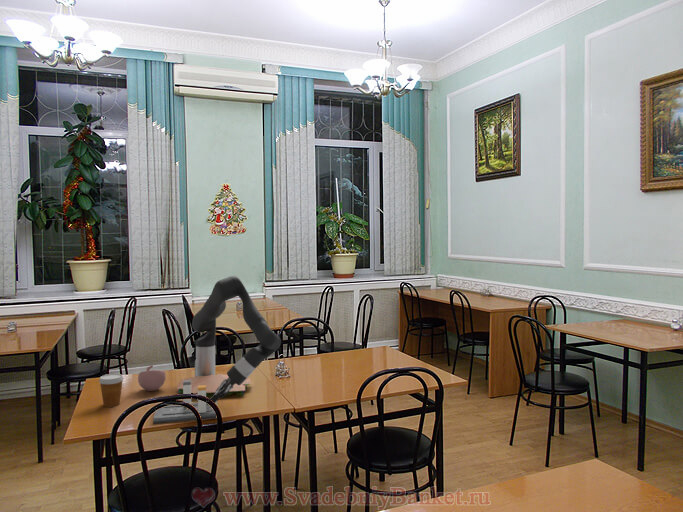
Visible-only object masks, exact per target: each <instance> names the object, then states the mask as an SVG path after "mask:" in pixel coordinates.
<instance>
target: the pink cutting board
mask: <svg viewBox="0 0 683 512" xmlns="http://www.w3.org/2000/svg"><path fill="white" fill-rule="evenodd" d="M227 378H229V377H228V375H227V374H223V373H217V374H216V373H215V374H213V375H208V376H198V377H195V376H192V377H187V378H182V379H180V380H179V382H178V385H177V387H176V390H178V394H179V393H180V394H181V393H183V381H184V380H191V393H193V394H194V395H195V394H198V386H200V385H206V397H207V396H208V397H209V394H212V393H213V394H214V393H215V392H216V390H217V388H218V387H219V386H220V384H221V383H222V382H223V380H225V379H226V380H227ZM249 385H252V379H251V377H250V378H249V377H248V378H247V379H246V380H245V381H244V382H243V383H242V384H241V385H237V384H234V385H233V388H232V389H231V390H230V392H229V393H232V392H237V394H238V396H237V397H239V395H244V392H245V391H246V388H248V386H249ZM180 390H181V391H180ZM239 392H240V393H239ZM193 394H192V395H193Z"/></svg>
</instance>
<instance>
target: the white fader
mask: <svg viewBox="0 0 683 512" xmlns="http://www.w3.org/2000/svg"><path fill="white" fill-rule="evenodd" d="M182 391H183V392H182V395H183V394H191V380H184V381H183V389H182ZM191 395H192V394H191ZM182 402H185V403H189V404H191V403H192V398H191V399H183V401H182ZM183 407H184V406H183Z"/></svg>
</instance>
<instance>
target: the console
mask: <svg viewBox="0 0 683 512" xmlns="http://www.w3.org/2000/svg"><path fill="white" fill-rule="evenodd" d="M215 403H216V404H217V406H218V400H217V401H216V402H215ZM169 405H170V406H165V407H162V408H160V409H158V410H157V411H156V410H155V412H154V415H153V419H152V423H153V424H164V423H176V422H178V423H179V422H189V421H197V420H196V417H195V415H194V413H193V412H192V411H191V410H189V409H187V408H186V407H183V406H181V405H173V404H169ZM191 405H193V406H194V407H195V408H196V409H197V411H198V402H191ZM199 414H200V416H201V419H202V420H213V419H217V418H216V413H215V411H214V410H213V409H212V408H211V406H209V405H208V404H207V403H206V412H204V413H199Z"/></svg>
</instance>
